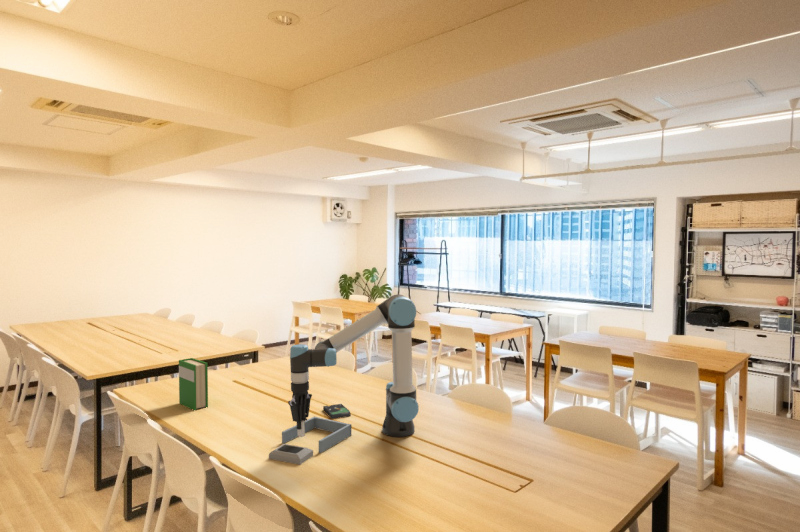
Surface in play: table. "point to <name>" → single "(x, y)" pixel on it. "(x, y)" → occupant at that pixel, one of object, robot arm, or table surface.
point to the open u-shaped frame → (338, 428)
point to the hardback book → (193, 383)
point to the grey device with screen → (291, 454)
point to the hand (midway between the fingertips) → (301, 435)
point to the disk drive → (336, 411)
